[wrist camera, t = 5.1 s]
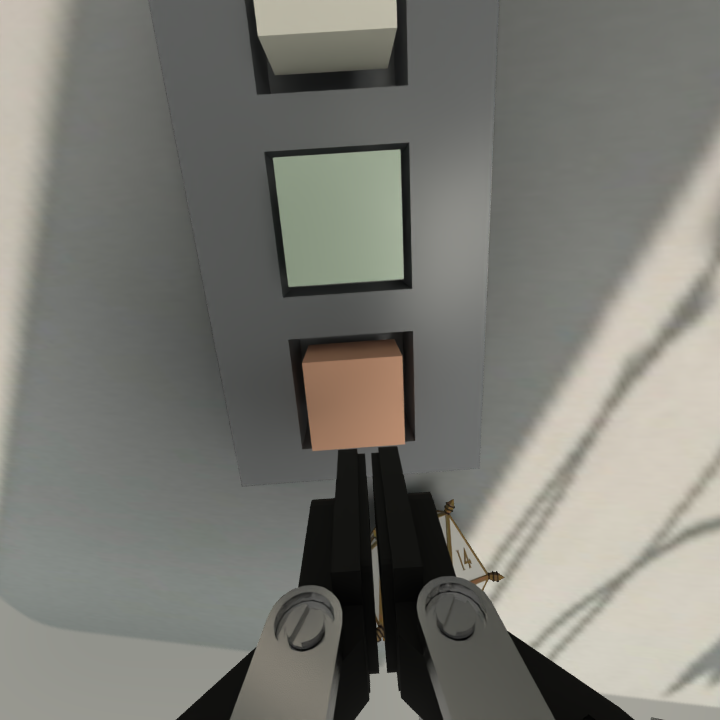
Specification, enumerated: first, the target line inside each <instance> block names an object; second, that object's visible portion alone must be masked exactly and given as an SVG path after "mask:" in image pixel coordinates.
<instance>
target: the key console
mask: <svg viewBox="0 0 720 720" xmlns="http://www.w3.org/2000/svg"><path fill="white" fill-rule="evenodd" d="M396 3H397V30H396V35H395V39H394V43H393V47H392V52H391V56H390V60H389V64H388V68H386V69H370V70H354V71H338V72H322V73H306V74H289V75H275V74H274V72H273V69H272V67H271V65H270V63H269V60H268V58H267V56H266V53H265V51H264V49H263V47H262V44H261V42H260V40H259V37H258V33H257V25H256V16H255V8H254V0H149V6H150V11H151V16H152V21H153V26H154V32H155V37H156V42H157V47H158V52H159V58H160V63H161V68H162V73H163V78H164V84H165V89H166V94H167V99H168V104H169V110H170V115H171V120H172V125H173V130H174V136H175V141H176V146H177V151H178V156H179V162H180V167H181V172H182V177H183V182H184V188H185V193H186V198H187V203H188V208H189V214H190V219H191V224H192V229H193V234H194V240H195V245H196V250H197V255H198V260H199V266H200V271H201V276H202V281H203V286H204V292H205V297H206V302H207V307H208V312H209V318H210V323H211V328H212V333H213V338H214V344H215V349H216V354H217V359H218V364H219V370H220V375H221V380H222V385H223V390H224V396H225V401H226V406H227V411H228V416H229V422H230V427H231V432H232V437H233V442H234V448H235V453H236V458H237V463H238V468H239V474H240V479H241V484H242V486H253V485H266V484H280V483H293V482H307V481H320V480H333V479H336V477H337V460H338V450H344V449H334V450H321V451H312V443H311V435H310V427H309V418H308V410H307V401H306V393H305V384H304V376H303V367H302V362H303V359H304V356H305V354H306V351H307V348H308V345H316V344H330V343H345V342H359V341H373V340H387V339H395V342H396V344H397V346H398V348H399V350H400V352H401V354H402V360H403V393H404V427H405V444H402V445H388V446H375V447H361V448H348V449H357V451H358V454H362V453H365V460H366V475H367V477H373V476H372V460H371V453H377V452H378V447H389V446H397V447H398V451H399V456H400V461H401V466H402V470H403V474H413V473H427V472H440V471H453V470H467V469H480V448H481V424H482V400H483V376H484V352H485V328H486V304H487V280H488V256H489V233H490V209H491V185H492V161H493V137H494V113H495V89H496V65H497V41H498V17H499V0H396ZM398 149H400V152H401V190H402V227H403V264H404V279H398V280H383V281H369V282H354V283H340V284H325V285H311V286H296V287H288V278H287V270H286V262H285V254H284V246H283V237H282V229H281V221H280V213H279V205H278V197H277V188H276V180H275V172H274V164H273V158H274V157H290V156H305V155H321V154H336V153H352V152H367V151H383V150H398Z"/></svg>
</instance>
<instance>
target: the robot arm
mask: <svg viewBox="0 0 720 720" xmlns="http://www.w3.org/2000/svg"><path fill="white" fill-rule="evenodd" d="M371 460H372V476H373V492H374V508H375V524H376V539H377V551H378V564H379V576H380V589H381V601H382V614H383V626H384V638H385V651H386V663H387V673H391V672H397V678H398V688H399V691H401V698H402V699H403V700H404V701H405V702H406V703H407V704H408V705H409V706H410V707H411V708H412V709H413V710H414V711H415V712H416V713H417V714H418V715H419V720H634V719H633V718H631V717H630V716H629V715H628V714H627V713H626V712H624V711H623V710H622V709H621V708H620V707H618V706H617V705H615V704H614V703H612V702H611V701H609V700H608V699H606V698H605V697H603V696H602V695H600V694H599V693H598V692H596V691H595V690H593V689H592V688H590V687H589V686H587V685H586V684H584V683H583V682H581V681H580V680H579V679H577V678H576V677H574V676H573V675H571V674H570V673H568V672H567V671H565V670H564V669H562V668H561V667H560V666H558V665H557V664H555V663H554V662H552V661H551V660H549V659H548V658H546V657H545V656H543V655H542V654H540V653H539V652H538V651H536V650H535V649H533V648H532V647H530V646H529V645H527V644H526V643H524V642H523V641H521V640H520V639H519V638H517V637H516V636H514V635H513V634H511V633H510V632H508V631H507V630H506V628H505V626H504V624H503V622H502V620H501V619H500V617H499V615H498V613H497V611H496V609H495V608H494V606H493V604H492V602H491V601H490V599H489V598H488V596H487V595H486V594H485V592H484V591H483V590H481V589H480V588H479V587H478V586H477V585H475V584H474V583H472V582H470V581H468V580H466V579H464V578H459V577H456V574H455V571H454V567H453V564H452V561H451V557H450V554H449V551H448V548H447V544H446V541H445V538H444V534H443V531H442V528H441V524H440V521H439V518H438V514H437V511H436V508H435V504H434V501H433V498H432V495H431V493H430V492H423V493H408V494H407V489H406V484H405V480H404V475H403V470H402V466H401V461H400V456H399V451H398V447H397V446H389V447H378V452H377V453H371ZM376 673H379V662H378V646H377V630H376V614H375V598H374V582H373V565H372V549H371V534H370V519H369V504H368V490H367V475H366V460H365V453H362V454H358V451H357V449H344V450H338V460H337V477H336V493H335V498H333V499H317V500H312V501H311V506H310V513H309V519H308V526H307V533H306V539H305V546H304V553H303V559H302V566H301V573H300V579H299V586H298V588H295V589H293V590H291V591H289V592H288V593H286V594H285V595H283V596H282V597H281V598H280V599H279V600H278V601H277V602H276V603H275V605H274V606H273V608H272V609H271V611H270V613H269V615H268V617H267V620H266V623H265V625H264V628H263V631H262V634H261V636H260V639H259V642H258V644H257V647H256V648H255V649H253V650H252V651H251V652H250V653H249V654H248V655H247V656H246V657H245V658H244V659H242V660H241V661H240V662H239V663H238V664H237V665H236V666H235V667H234V668H233V669H231V671H229V672H228V673H227V674H226V675H225V676H224V677H223V678H222V679H221V680H219V681H218V682H217V683H216V684H215V685H214V686H213V687H212V688H211V689H210V690H208V691H207V692H206V693H205V694H204V695H203V696H202V697H201V698H200V699H198V700H197V701H196V702H195V703H194V704H193V705H192V706H191V707H190V708H188V709H187V710H186V711H185V712H184V713H183V714H182V715H181V716H180V717H179V718H177V719H176V720H355V718H356V717H357V716H358V714H359V713H360V712H361V710H362V709H363V708H364V706H365V705H366V704H367V702H368V701H369V693H370V675H369V674H376ZM651 720H662V719H657V718H651Z"/></svg>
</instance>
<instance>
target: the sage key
mask: <svg viewBox="0 0 720 720" xmlns="http://www.w3.org/2000/svg"><path fill="white" fill-rule="evenodd" d="M273 164H274V172H275V180H276V188H277V197H278V205H279V213H280V221H281V229H282V237H283V246H284V254H285V262H286V270H287V278H288V287H296V286H311V285H325V284H340V283H354V282H369V281H383V280H398V279H404V264H403V227H402V190H401V152H400V149H398V150H383V151H367V152H352V153H336V154H321V155H305V156H290V157H274V158H273Z"/></svg>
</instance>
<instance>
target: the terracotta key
mask: <svg viewBox="0 0 720 720" xmlns="http://www.w3.org/2000/svg"><path fill="white" fill-rule="evenodd" d="M302 367H303V376H304V384H305V393H306V401H307V410H308V418H309V427H310V435H311V443H312V451H321V450H334V449H348V448H361V447H375V446H388V445H402V444H405V427H404V393H403V360H402V354H401V352H400V350H399V348H398V346H397V344H396V342H395V339H387V340H373V341H359V342H345V343H330V344H316V345H308V348H307V351H306V354H305V356H304V359H303V362H302Z"/></svg>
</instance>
